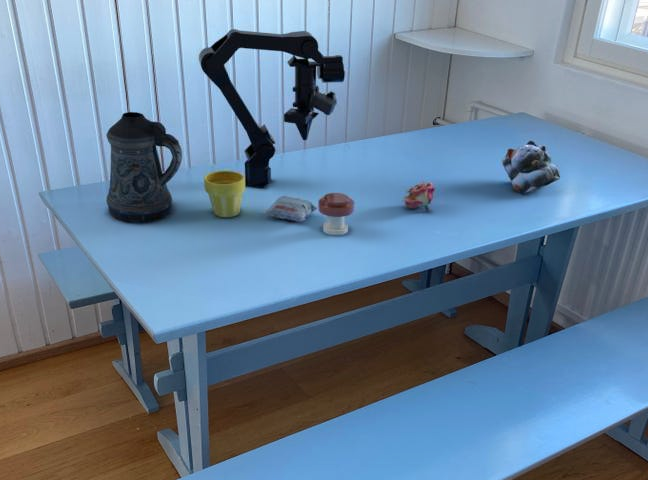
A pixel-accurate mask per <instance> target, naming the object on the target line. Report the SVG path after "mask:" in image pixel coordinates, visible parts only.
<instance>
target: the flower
mask: <svg viewBox="0 0 648 480" xmlns="http://www.w3.org/2000/svg"><path fill="white" fill-rule="evenodd" d="M405 192H406V194H407V193H408V194H407V195H405V197H402V199H401V201H402V202H404V207H405V206H406V208H407V209H418V208H424V209H425V212H429V211H430V209H429V207H428V205H430V204H432V203H433V201H434V194H435V186H434V185H433V181H431V180H430V181H428V182H427V183H425V182H423V180H421V182H420V183H419V184H415V185H413V186H411V187H410V188H409V189H407V190H405Z"/></svg>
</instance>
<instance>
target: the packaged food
mask: <svg viewBox="0 0 648 480" xmlns="http://www.w3.org/2000/svg"><path fill="white" fill-rule="evenodd" d="M316 210H318V207H317V206H316V205H315V204H313V203H312V202H311V201H310V200H308V199H303V198H297V197H294V196H293V197H292V196H288V195H283V196H280V197H279V198H277V199H276V201H275V202H274V203H273V204H272V205H271V206H270V208H268V209H266V210H263V212H262V214H263V215H265V214H266V215H269V216H271V218H275V219H282V220H287V221H292V222H303V221H306V218H307V216H309V215H310V214H312V213H313V212H314V211H316Z"/></svg>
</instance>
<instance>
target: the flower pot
mask: <svg viewBox="0 0 648 480" xmlns="http://www.w3.org/2000/svg"><path fill="white" fill-rule="evenodd" d="M203 177H204V178H203V182H204V190H205V192H206V193H207V195H208V197H209V201H210V204H211V206H212V210H213V213H214V215H215V216H217V217H220V218H233V217H236V216H238V215H239V214H240V211H241V204H242V199H243V193H244V192H245V190H246V185H245V174H243V173H241V172H240V171H236V170H229V169H228V170H227V169H226V170H216V171H211V172H209V173H207V174H205V176H203Z"/></svg>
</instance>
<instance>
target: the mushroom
mask: <svg viewBox="0 0 648 480" xmlns="http://www.w3.org/2000/svg"><path fill="white" fill-rule="evenodd" d="M317 210H318V212H319V213H320V214H322V215H323V216H326V222H324V223H323V225H322V231H323V233H325V234H327V235H329V236H343V235H346V234H347V233H348V232H349V225H348V223H346V222H345V217H348V216H350V215H353V213H354V211H355V201H354V200H353V199H352V198H350V196H348V194H345V193H342V192H330V193H326V194H325V195H324V196H322V197H321V198H319V199H318V204H317Z"/></svg>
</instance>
